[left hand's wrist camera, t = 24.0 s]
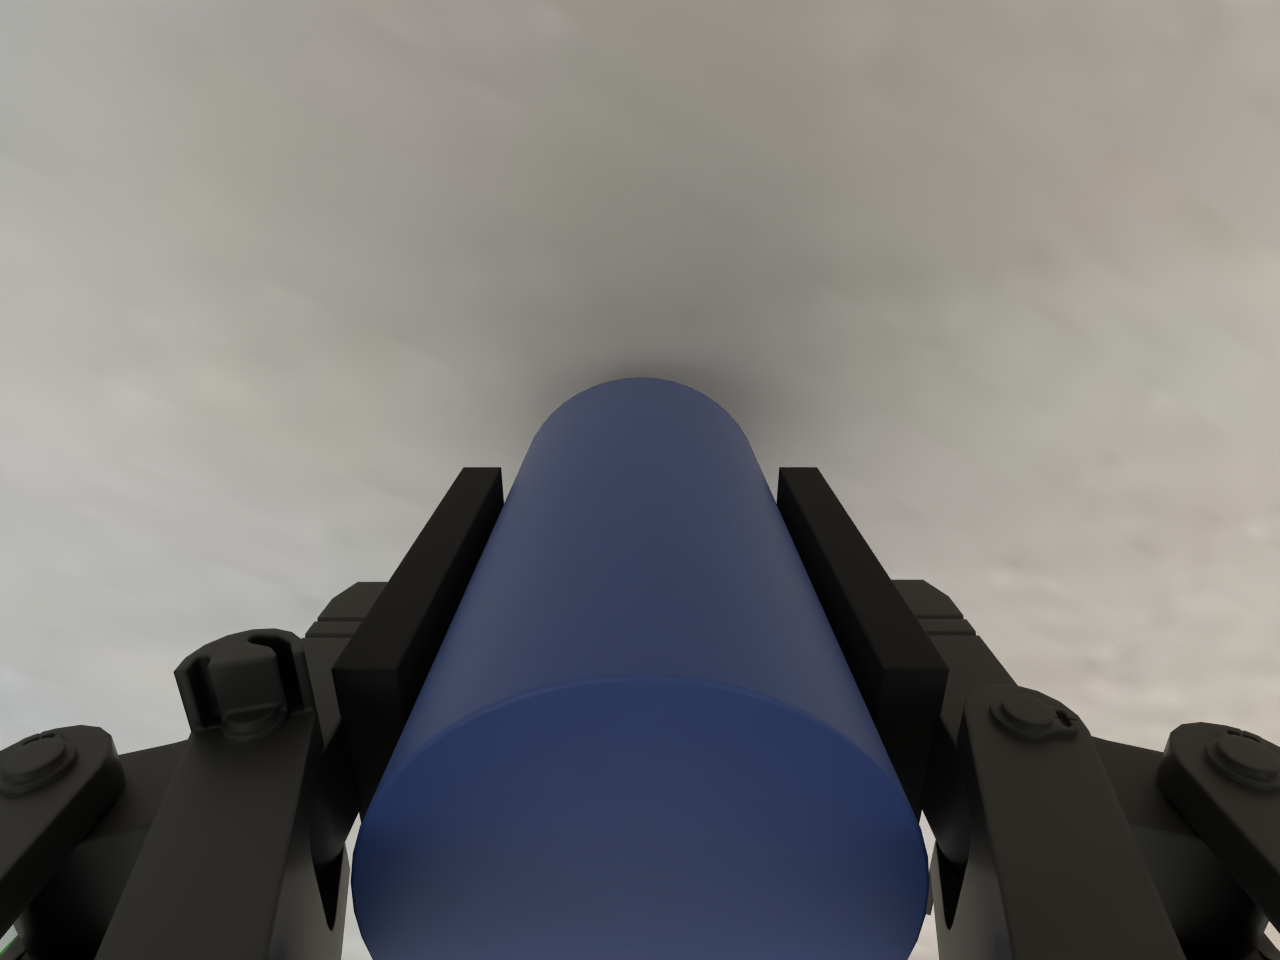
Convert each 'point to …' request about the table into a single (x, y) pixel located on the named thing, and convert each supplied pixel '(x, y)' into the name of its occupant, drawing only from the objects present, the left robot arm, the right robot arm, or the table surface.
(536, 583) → the can
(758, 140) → the table surface
